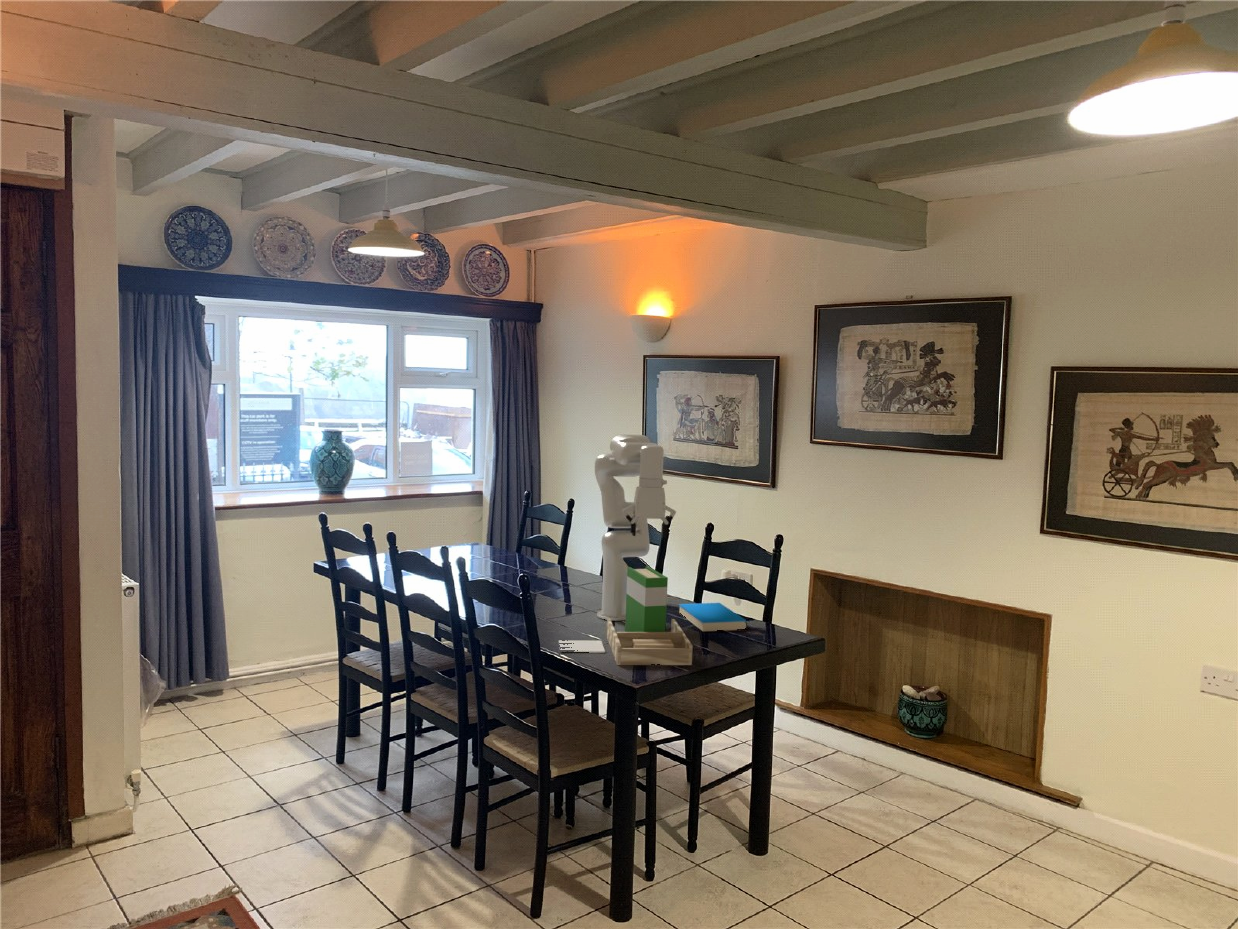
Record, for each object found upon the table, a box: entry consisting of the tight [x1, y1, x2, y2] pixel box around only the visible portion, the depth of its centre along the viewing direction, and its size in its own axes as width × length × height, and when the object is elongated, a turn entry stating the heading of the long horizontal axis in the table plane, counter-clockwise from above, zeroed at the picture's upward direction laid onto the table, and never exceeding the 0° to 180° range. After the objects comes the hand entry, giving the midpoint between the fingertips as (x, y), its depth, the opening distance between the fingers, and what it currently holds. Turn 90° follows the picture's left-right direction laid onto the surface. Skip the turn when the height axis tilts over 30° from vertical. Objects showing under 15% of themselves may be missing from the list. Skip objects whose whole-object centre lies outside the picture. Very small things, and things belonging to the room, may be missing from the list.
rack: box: [606, 618, 694, 666], centre depth 290 cm, size 31×23×7 cm
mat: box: [558, 639, 606, 654], centre depth 290 cm, size 12×14×1 cm
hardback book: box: [624, 565, 669, 632], centre depth 296 cm, size 18×7×24 cm, turn 19°
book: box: [678, 602, 748, 632], centre depth 329 cm, size 17×4×25 cm
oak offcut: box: [632, 639, 674, 648], centre depth 280 cm, size 6×12×3 cm, turn 96°
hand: (648, 535), depth 293 cm, fingers open, 9 cm apart
